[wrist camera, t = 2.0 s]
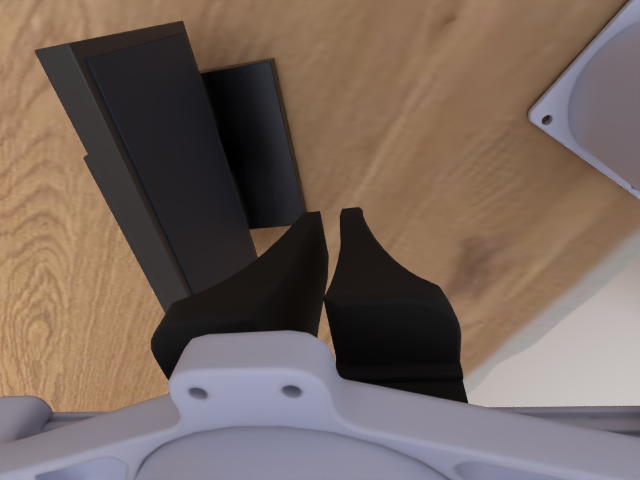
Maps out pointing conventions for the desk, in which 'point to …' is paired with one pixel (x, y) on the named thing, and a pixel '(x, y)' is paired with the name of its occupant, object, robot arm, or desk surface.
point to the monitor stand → (256, 141)
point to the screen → (155, 154)
